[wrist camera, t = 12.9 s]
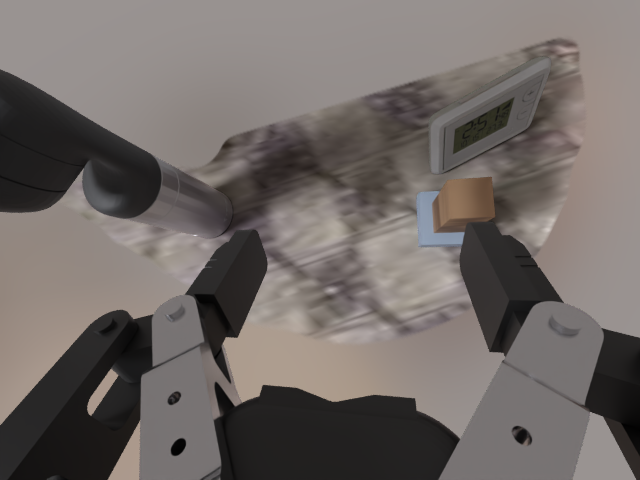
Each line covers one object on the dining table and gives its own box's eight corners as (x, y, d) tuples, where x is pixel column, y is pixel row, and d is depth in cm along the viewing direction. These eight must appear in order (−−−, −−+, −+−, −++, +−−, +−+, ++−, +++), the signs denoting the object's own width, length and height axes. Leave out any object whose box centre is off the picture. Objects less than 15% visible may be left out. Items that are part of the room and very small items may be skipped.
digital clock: (427, 179, 45) (441, 150, 34) (410, 131, 46) (419, 88, 36) (535, 146, 42) (585, 103, 32) (513, 96, 44) (554, 39, 33)
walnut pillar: (433, 233, 40) (450, 218, 31) (431, 203, 41) (447, 179, 31) (467, 232, 40) (495, 216, 30) (464, 201, 40) (491, 176, 30)
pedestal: (418, 247, 43) (421, 244, 41) (416, 197, 45) (418, 192, 42) (474, 246, 42) (481, 243, 39) (470, 194, 43) (476, 188, 40)
